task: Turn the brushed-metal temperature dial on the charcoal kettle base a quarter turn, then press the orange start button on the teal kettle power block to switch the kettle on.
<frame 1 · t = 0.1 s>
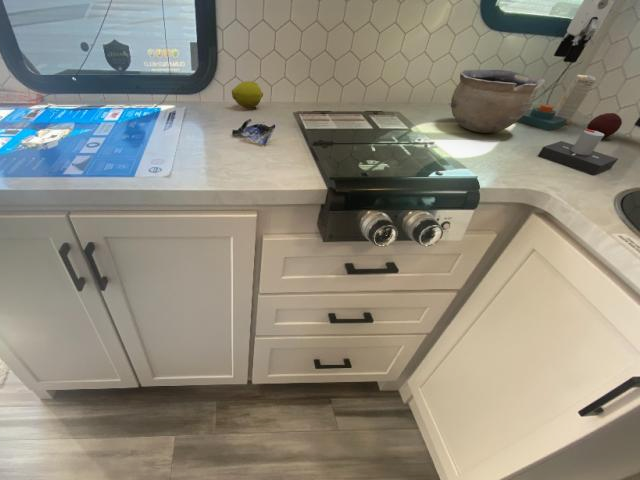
hand: (563, 59, 107), 18 cm above the table, tool pointing down, fingers open, 9 cm apart
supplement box: (559, 121, 121), on the table
lemon: (246, 108, 120), on the table
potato: (594, 137, 110), on the table
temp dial: (587, 142, 90), point 5 cm above the table, hinge at 0.0°
ceramic bowl: (475, 129, 112), on the table
dial base: (573, 161, 94), on the table
power block: (537, 123, 118), on the table
start button: (545, 108, 115), point 4 cm above the table, slide at 0.1 cm
snack package: (252, 139, 99), on the table
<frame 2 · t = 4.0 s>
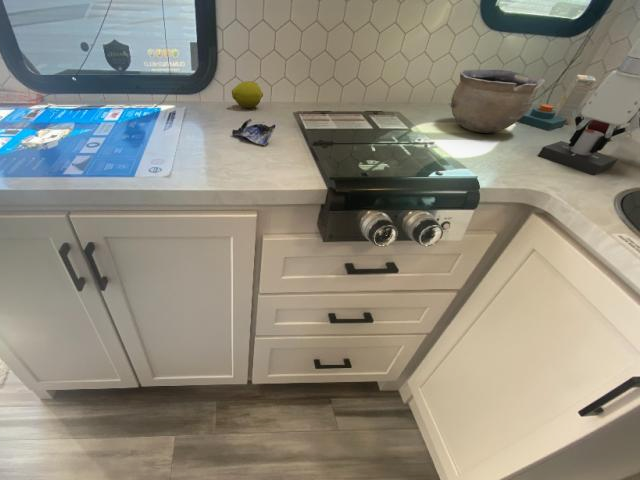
hand: (583, 148, 92), 4 cm above the table, tool pointing down, fingers closed on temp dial, 4 cm apart
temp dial: (587, 142, 90), point 5 cm above the table, hinge at -0.1°, touching gripper
everything else where it was.
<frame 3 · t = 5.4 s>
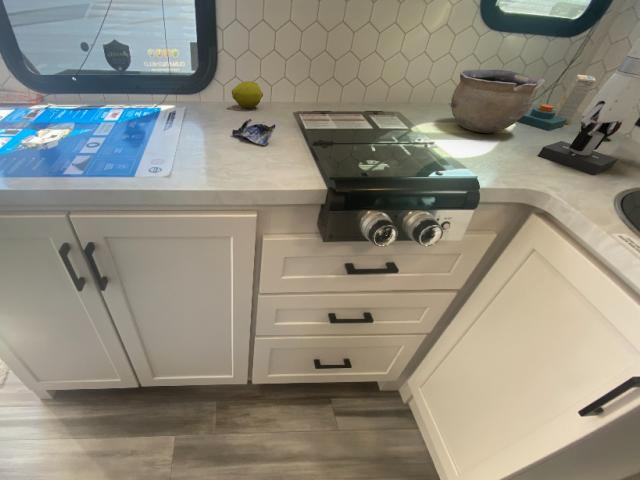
hand: (583, 148, 92), 4 cm above the table, tool pointing down, fingers closed on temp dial, 4 cm apart
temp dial: (587, 142, 90), point 5 cm above the table, hinge at 76.2°, touching gripper
everything else where it was.
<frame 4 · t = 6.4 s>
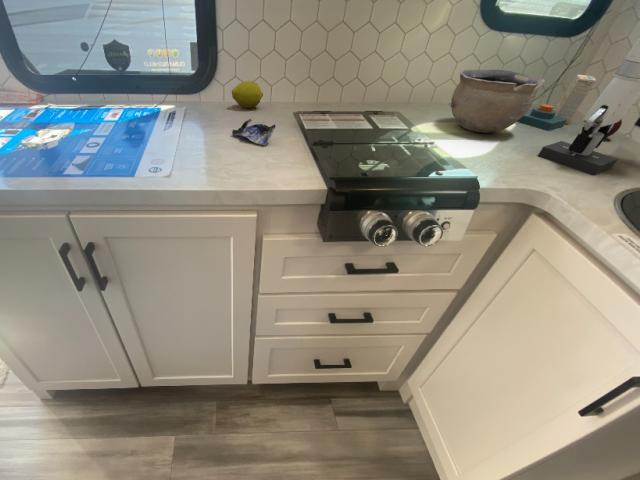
hand: (582, 148, 92), 3 cm above the table, tool pointing down, fingers open, 7 cm apart
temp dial: (587, 142, 90), point 5 cm above the table, hinge at 91.0°
everything else where it was.
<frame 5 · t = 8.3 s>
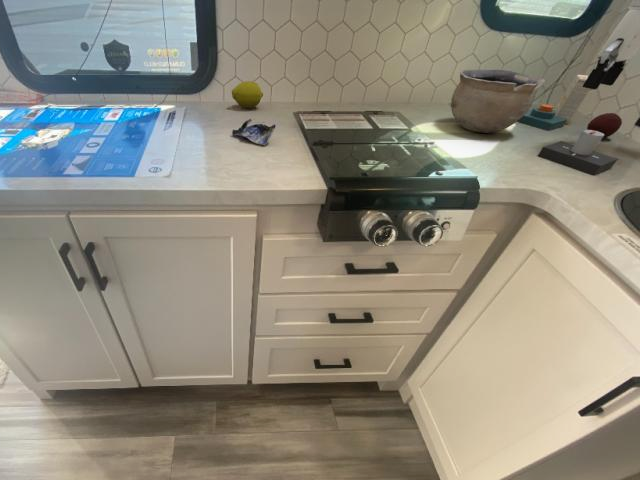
hand: (597, 86, 92), 15 cm above the table, tool pointing down, fingers open, 9 cm apart
nothing on the table moved.
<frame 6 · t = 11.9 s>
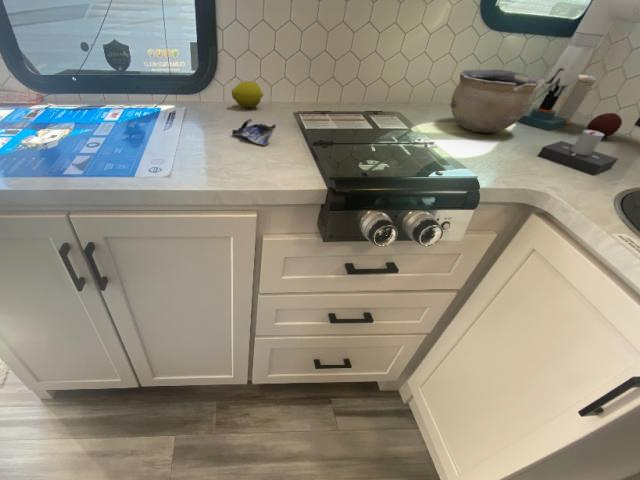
hand: (544, 108, 115), 4 cm above the table, tool pointing down, fingers closed
start button: (543, 111, 115), point 3 cm above the table, slide at -0.9 cm, touching gripper
everything else where it was.
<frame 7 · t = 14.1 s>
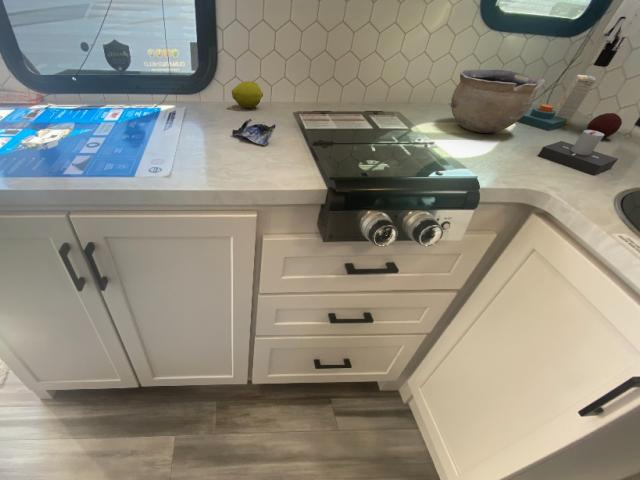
hand: (600, 65, 105), 17 cm above the table, tool pointing down, fingers closed
start button: (545, 108, 115), point 4 cm above the table, slide at 0.1 cm
everything else where it was.
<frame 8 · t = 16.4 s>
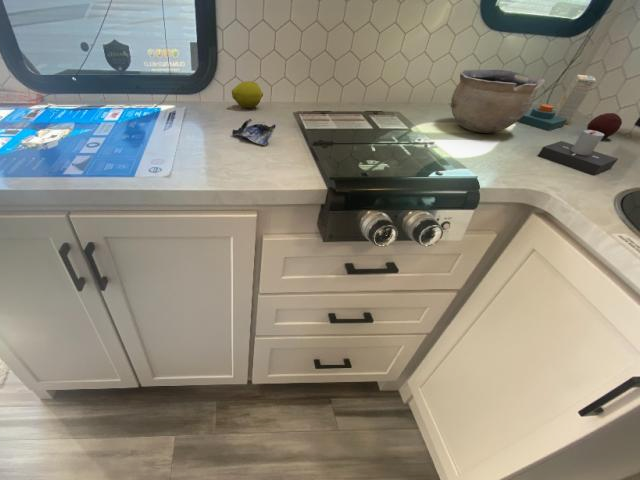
nothing on the table moved.
at the end: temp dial at +91° (first picture: +0°); start button pushed in 1.1 cm at the most during the clip, back to where it started at the end; start button slide at 0.1 cm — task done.
